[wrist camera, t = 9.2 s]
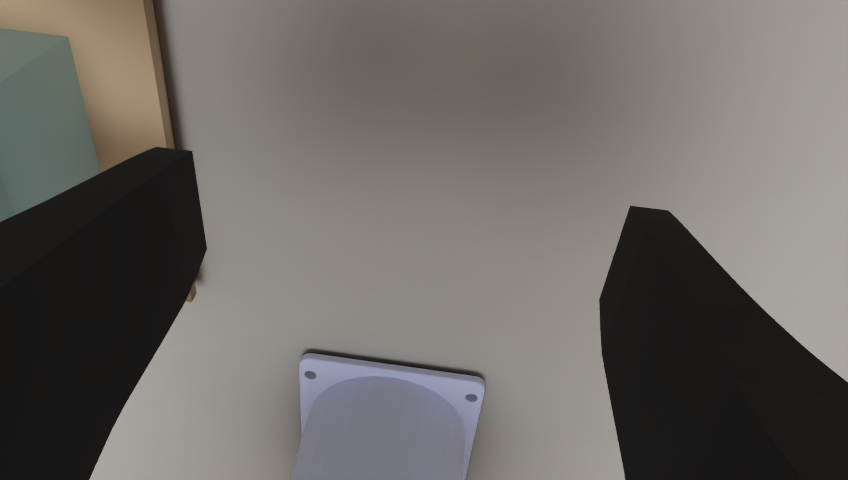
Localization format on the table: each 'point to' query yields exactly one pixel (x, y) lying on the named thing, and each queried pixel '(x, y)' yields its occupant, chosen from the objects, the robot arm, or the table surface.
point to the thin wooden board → (109, 70)
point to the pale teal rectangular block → (40, 121)
